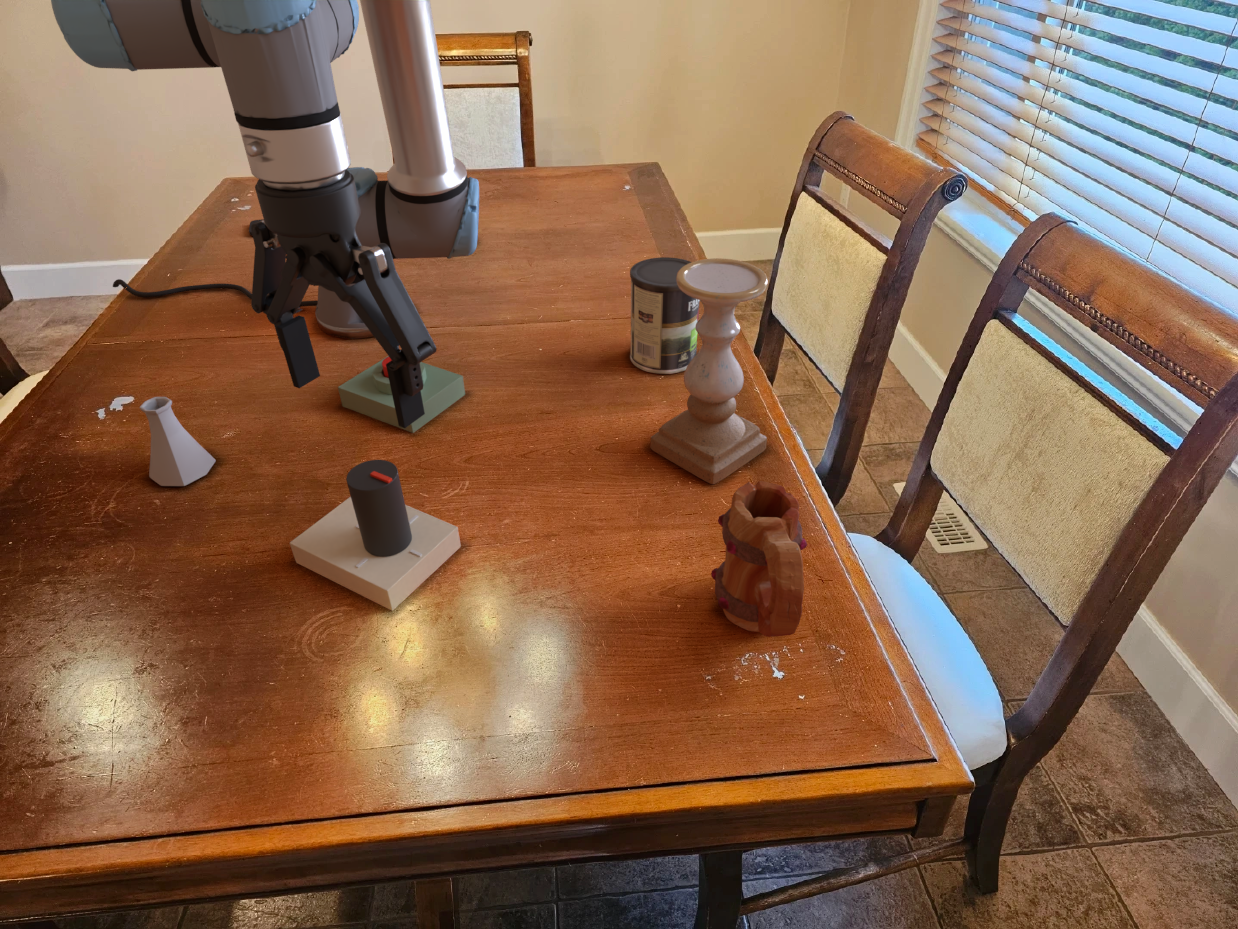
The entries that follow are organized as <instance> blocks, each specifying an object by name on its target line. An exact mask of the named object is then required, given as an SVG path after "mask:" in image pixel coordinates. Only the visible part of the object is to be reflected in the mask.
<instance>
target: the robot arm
mask: <svg viewBox="0 0 1238 929" xmlns="http://www.w3.org/2000/svg"><path fill="white" fill-rule="evenodd" d="M50 3H51V8H52V12H53V15H54V19H55V21H56V24H57V25H58V27H59V29H60V32H61V34H62V35H63V39H64V41H65V42H66V43H67V45H68V47H69V48H70V49H71V51H72V52H73V53H74V54H75V55H76V56H77V57H78V58H79V59H80V60H81V61H83V62H84V63H86V64H87V65H89V66H92V67H94V68H98V69H118V70H121V69H122V70H129V71H130V72H137V71H138V70H139V71H140V70H141V71H143V70H172V69H173V70H175V69H205V68H206V69H211V68H212V69H214V68H221V72H222V74H223V78H224V82H225V85H226V89H227V92H228V96H229V98H230V102H231V105H232V108H233V109H232V110H233V112H234V113H233V114H234V117H235V121H236V122H237V124H238V128H239V133H240V136H241V140H242V143H243V147H244V150H245V154H246V158H247V162H248V165H249V169H250V173H251V175H252V176H253V177H254V178H256V179H258V180H257V181H256V183H255V186H254V190H255V193H256V197H257V201H258V204H259V208H260V211H261V214H262V219H264V220H262V221H260V222H257V223H255V224H252V225H251V230H252V235H253V236H252V235H251V236H252V238H253V243H254V258H253V271H252V272H253V273H252V287H251V292H250V290H248V289H246V288H245V287H243V286H242V285H238V284H235V283H223V282H221V283H206V284H196V285H185V286H180V287H174V288H173V287H172V288H169V289H168V288H167V289H164V290H158V291H139V290H136V289H134V288H132V286H130V285H129V284H128V283H127V282H126V281H125V280H123V279H120V278H118V279H116V280H115V281H114V282H113V283H112V288H119V286H121V287H122V288H123V289H124V290H126V291H127V292H128V293H130V294H131V295H132V296H135V297H138V298H157V297H159V298H160V297H165V296H169V295H174V294H180V293H185V292H194V291H204V290H217V289H221V290H222V289H223V290H224V289H226V290H235V291H239V292H240V293H242V294H244V296H246V297H247V298H248V299H250V300H251V301H250V302H251V304H250V305H251V308H252V309H253V311H254V312H255V313H256V314H261V313H263V314H265V315H266V318H267V320H268V321H269V322H270V323H271V324H272V325H273V326H274V330H275V333H276V336H277V340H278V343H279V346H280V348H281V350H282V352H283V355H284V358H285V361H286V364H287V368H288V371H289V372H288V373H289V376H290V378H291V382H292V385H293V388H297V389H301V388H303V387H304V386H306V385H307V384H309V383H311V382H313V381H314V380H316V379H318V378H319V377H321V374H320V370H319V366H318V363H317V359H316V355H315V350H314V348H313V343H312V340H311V337H310V334H309V329H308V326H307V322H306V318H305V316H302V315H296V314H298V313H299V312H301V311H303V309H302V307H315V318H316V322H317V326H318V328H319V330H321V331H322V332H323V333H325V334H327V335H328V336H332V337H336V338H340V339H350V340H352V339H353V340H355V339H368V338H374V339H375V340H376V341H377V343H378V344H379V345H380V347H381V348H382V349H383V351H384V352H385V353H386V355H387V356H389V357H390V358H391V360H392V361H390V362H389V363H387V364H386V367H387V372H388V377H389V382H390V387H391V391H392V396H393V401H394V406H395V410H396V415H397V420H398V425H399V426H400V427H402V428H406V427H408V426H409V425H410V424H412V423H413V422H415V421H416V420H417V419H419V418H420V417H421V416H423V415H424V414H425V412H424V407H423V401H422V396H421V390H422V389H423V380H422V376H421V375H422V374H421V368H420V362H423V361H425V360H426V359H427V358H429V357H431V356H432V355H434V354H435V353H436V352H437V346H436V343H435V342H434V340H433V338H432V336H431V335H430V332H429V330H428V328H427V327H426V325H425V323H424V321H423V319H422V317H421V315H420V313H419V311H418V308H416V306H415V304H414V301H413V300H412V298H411V296H410V293H409V292H408V290H407V288H406V286H405V284H404V283H403V281H402V279H401V277H400V275H399V273H398V271H397V270H396V269H397V268H396V266H395V262H394V260H399V259H400V260H401V259H403V260H405V259H428V258H429V259H432V258H433V259H434V258H437V259H438V258H446V259H448V260H450V259H453V258H458V257H459V258H460V257H469V256H472V255H473V254H474V253H475V252H476V249H477V246H478V240H479V238H478V237H479V219H480V218H479V217H480V182H479V180H478V179H477V178H475V177H472V176H469V177H468V170H467V167H466V165H465V163H464V162H462V160H460V159H459V158H457V157H455V155H454V147H453V141H452V135H451V127H450V121H449V114H448V107H447V102H446V96H445V90H444V83H443V75H442V70H441V69H442V68H441V64H440V56H439V50H438V44H437V43H438V42H437V38H436V36H437V35H436V31H435V25H434V24H435V22H434V16H433V11H432V4H431V0H359V3H360V6H359V4H358V0H50ZM360 7H361V12H362V18H363V22H364V27H365V31H366V35H367V36H366V37H367V40H368V45H369V48H370V54H371V60H372V63H373V68H374V73H375V78H376V82H377V87H378V91H379V97H380V101H381V105H382V110H383V115H384V119H385V125H386V129H387V134H388V138H389V143H390V148H391V152H392V153H391V154H392V157H393V162H394V163H393V164H392V165H391V167H390V168H389V169H388V171H387V175H386V177H387V178H386V179H387V180H378V179H379V178H378V175H377V174H376V171H375V170H374V169H372V168H369V167H363V166H355V167H353V166H352V167H350V166H351V165H352V160H351V154H350V150H349V145H348V141H347V136H346V132H345V127H344V123H343V117H342V114H341V110H340V106H339V102H338V96H337V91H336V86H335V80H334V76H333V69H332V65H331V64H332V63H333V62H334V61H335V60H336V59H338V58H339V59H340V57H341V56H342V55H345V53H346V52H347V51H348V50H349V48H350V46H351V45H352V43H353V40H354V38H355V35H356V33H357V30H358V27H359V21H360V10H359V8H360ZM310 286H313V287H318V288H317V300H303V299H304V297H305V295H306V293H307V292H308V290H309V287H310ZM126 287H127V288H126ZM125 288H126V289H125ZM294 315H296V316H294ZM400 348H401V349H400Z"/></svg>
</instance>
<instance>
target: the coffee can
mask: <svg viewBox="0 0 1238 929" xmlns="http://www.w3.org/2000/svg"><path fill="white" fill-rule="evenodd" d="M691 262H692V261H690V260H687V259H684V258H679V257H668V256H667V257H666V256H664V257H663V256H662V257H652V258H647V259H644V260H640V261H639V262H636V263H635V264H633V265H632V266H631V267H630V269H629V277H630V353H629V359H630V361H631V363H632V365H633V366H634V367H636V368H638V369H640V370H641V371H644V372H647V373H651V374H658V375H673V374H678V373H682V372H685V370H686V368H687V366H688V364H689V363H690V361H691V360H692V359H693V358H694V357H695V356H696V354H697V350H698V349H697V346H698V333H697V331H696V323H697V322H698V321H699V319H700V318H699V316H700V303H701V301H700V300H698V299H695V298H692V297H690V296H688V295H687V294H685V293H684V292H682V291H681V290H680V288H679V287H678V285H677V282H676V276H677V273H678V271H679V270H680V269H681V268H682V267H683V266H685V265H687V264H689V263H691Z"/></svg>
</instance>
